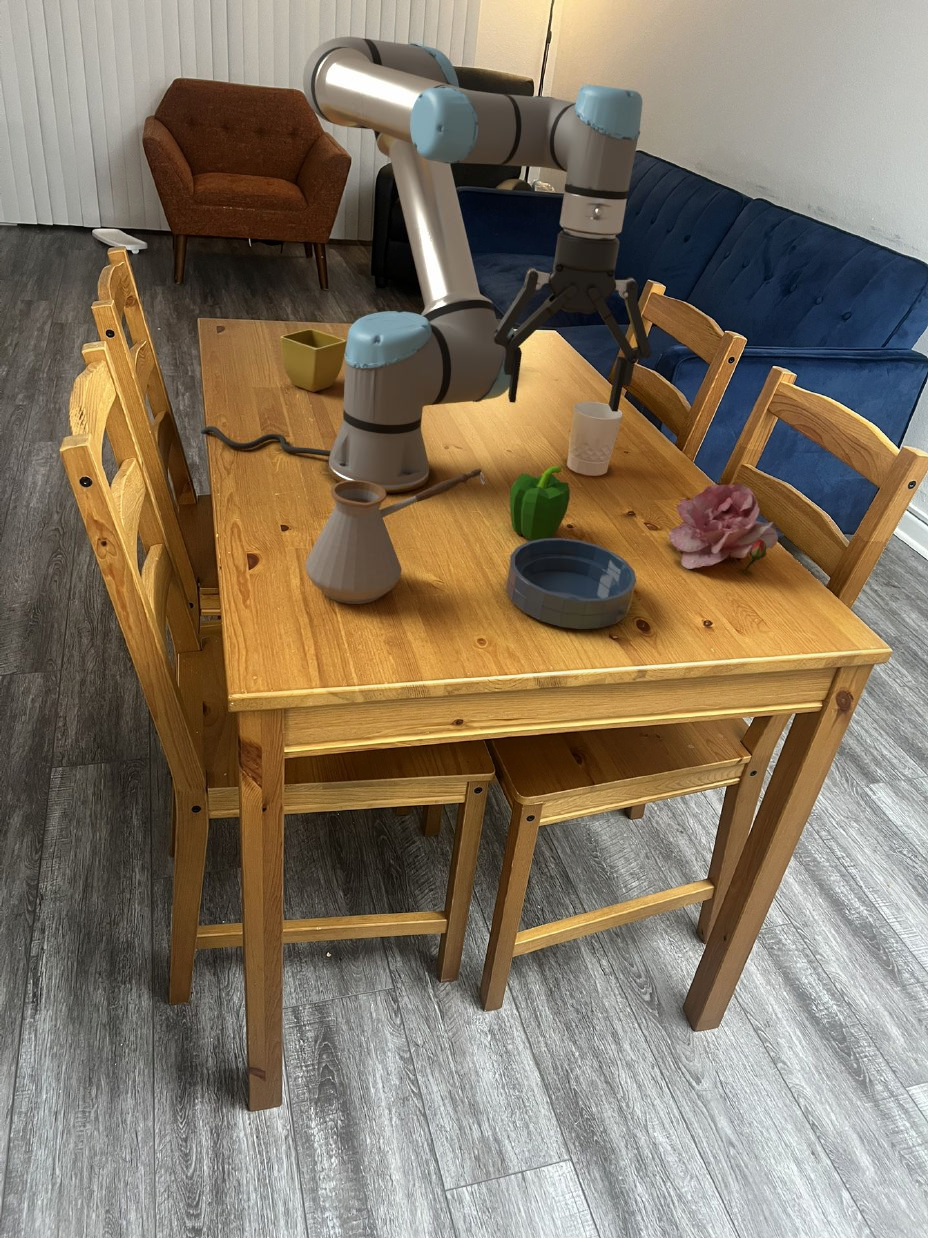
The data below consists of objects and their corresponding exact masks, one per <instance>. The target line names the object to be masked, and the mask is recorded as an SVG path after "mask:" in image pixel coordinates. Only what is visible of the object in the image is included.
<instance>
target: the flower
mask: <svg viewBox="0 0 928 1238" xmlns="http://www.w3.org/2000/svg"><path fill="white" fill-rule="evenodd" d="M676 511H677V512H678V515H679V517H680V519H681V521H682V522H681V524H679V525H678V526H677V527H675V528H673V529H671V530H670V531H669V533H668V537H669V542H670V543H671V544H672V546H674V547H676V549H677V550H676V551H678V552H682V556H681V559H680V563H681V566H682V567H684V568H685V569H687V570H689V569H692V570H693V569H696V568H697V569H700V568H702V567H703V566H704V567H710V566H713V565H715V564H719V563H720V562H722V561H723V560H725V559H726V558H728V557H729V556H730V557H732V558H736V559H744V558H745V559H746V557H747V556H748V555H749V556H751V560H750V561H749V562H748V564H747V566H746V567H745V570H744V573H746V572H747V571H748V569H750V567H751V566H752V565H753V564H754V563H755V562H756V561H759V560H761V559H762V558H764V557H766V556H767V550H768V549H769V550H770V549H774V547H775V546H776V545H777V543H778V541H779V535H778V532H777V530H775V529H774V528H773V527H772V526H774V524H775V521H770V522H764V523H763V522H761V521H759V520H757V519H758V518H759V515H760V508H759V502H758V500H757V497H756V495H755V493H754V492H753V491H752V489H750V488H749V487H748V486H746V485H745V484H742V483H739V484H721V485H719V484H712V485H708V486H706V487H705V489H704V490H703V491H702V492H700V493H697V495H695V496H693V497H692V499H691V500H688V499H684V498H682V499H681V502H680V503H679V504H677V505H676Z"/></svg>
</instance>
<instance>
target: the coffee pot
mask: <svg viewBox="0 0 928 1238" xmlns="http://www.w3.org/2000/svg"><path fill="white" fill-rule="evenodd" d="M477 477H478V478H479V480H480V482H481V484H482V485H483V486H485V485H487V480H486V478H485V476H484V474H483V471H482V469H481V468H477V469H472V470H471V471H470V472H468V473H465V472H464V473H463V472H462V473H460V475H459V476H457V477H454V478H449V479H446V480H443V481H442V482H439V483H437V484H435V485H432V486H431V487H429V488H427V489H425V490H422V491H421V492H419V493H417V494H414V496H410V497H408V498H406V499H404V500H401V501H398V502H396V503H394V504H391V505H388V506H386V507H384V508H381V505H382V503H384V501H385V500H386V498H387V493H386V492H385V490H384V489H383V488H382V487H380V486H379V485H377V484H374V483H371V482H367V481H360V480H348V481H342V482H337V483H334V484H333V485H332V486H331V488H330V492H329V493H330V497H332V499H333V500H334V504H335V505H334V508H333V509H332V511H331V513H330V515H329V517H328V519H327V520H326V522H325V524H324V526H323V528H322V530H321V532H320V534H319V536H318V538H317V539H316V541H315V543H314V545H313V547H312V549H311V550H310V552H309V554H308V556H307V558H306V562H305V570H306V574H307V576H308V579H309V580H310V581H311V583H312V584H313V586H314V587H316V589H318V590H319V591H320V592H322V593H323V594H324V595H325V596H326V597H328V598H329V599H331V600H334V601H336V602H339V603H341V604H351V605H362V604H368V603H371V602H374V601H376V600H378V599H380V598H381V597H382V596H384V595H385V594H387V593H389V592H390V591H391V590H392V589H393V588H394V587H395V586H396V585H397V583H398V582H399V580H400V578H401V576H402V566H401V562H400V559H399V557H398V555H397V553H396V550H395V547H394V544H393V542H392V539H391V537H390V534H389V531H388V528H387V525H386V523H385V520H384V518H386V517H387V516H389V515H392V514H394V513H396V512H398V511H400V510H403V509H405V508H407V507H409V506H411V505H414V504H416V503H419V502H422V501H424V500H427V499H430V498H432V497H435V496H439V495H441V494H443V493H446V492H449V491H450V490H452V489H454V488H456V487H457V486H458V485H460V484H467V483H468V481H469V480H470V479H474V478H475V479H476V478H477ZM482 478H483V479H482Z"/></svg>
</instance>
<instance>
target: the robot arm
mask: <svg viewBox="0 0 928 1238" xmlns="http://www.w3.org/2000/svg"><path fill="white" fill-rule="evenodd" d="M302 87H303V92H304V96H305V98H306V101H307V103H308V104H309V106H310V109H312V111H313V112H314V113H315V114H316V115H317V116H318V117H320V118H321V119H322V120H324V121H326V122H328V123H329V124H334V125H337V126H341V127H346V128H353V129H354V128H355V129H363V130H372V131H373V134H374V137H375V142H376V146H377V149H378V151H379V152H380V153H381V154H383V155H384V156H386V157H388V158H389V159H390V162H391V167H392V172H393V176H394V179H395V180H394V181H395V184H396V188H397V191H398V196H399V197H398V198H399V201H400V206H401V210H402V214H403V219H404V223H405V227H406V228H405V229H406V232H407V236H408V240H409V245H410V249H411V254H412V257H413V262H414V265H415V270H416V275H417V279H418V283H419V284H418V285H419V288H420V291H421V298H422V300H423V304H424V309H423V311H422V312H421V314H418V313H415V312H412V311H411V312H410V311H401V312H399V311H397V310H395V311H393V310H392V311H391V310H390V311H389V310H388V311H379V312H375V313H369V314H367V315H365V316H362V317H360V318H358V319H356V320H355V322H353V324H351V326H350V327H349V330H348V333H347V338H346V339H347V340H346V341H347V343H346V349H345V354H344V360H345V363H344V365H345V367H344V387H343V388H344V389H343V416H342V423H341V425H340V428H339V430H338V432H337V435H336V437H335V441H334V443H333V445H332V448H331V450H328V449H327V450H326V449H320V448H311V447H299V446H298V447H296V446H290V445H288V444H287V439H286V437H285V436H284V435H282V434H278V433H269V434H265V435H262V436H260V437H259V438H257V439H255V440H252V441H250V442H236V441H234V440H231V439H230V438H228V437H227V436H226V435H225V434H224V433H223V432H222V431H221V430H220V429H219V428H218V427H216V426H214V425H209V426H206V427H205V428H203V429H202V430H201V431H200V434H202V435H208V434H210V433H213V434H215V435H216V436H217V437H218V439H220V441H222V442H223V443H224V444H225V445H227V446H229V447H231V448H234V449H238V450H248V449H249V450H250V449H254V448H256V447H258V446H260V445H261V444H263V443H265V442H268V441H279V442H280V447H281V449H282V450H283V451H285V452H288V453H291V454H302V455H303V454H305V455H315V456H322V457H328V467H327V469H328V472H329V473H328V474H329V475H330V476H331V477H332V478H333V480H335V481H337V483H339V482H342V481H348V480H360V481H367V482H371V483H374V484H377V485H379V486H380V487H382V488H383V489H384V490H385V492H386V494H399V493H406V492H410V491H414V490H417V489H418V488H420V487H422V486H424V485H425V484H426V483H427V482H428V480H429V473H430V463H429V458H428V454H427V449H426V445H425V441H424V437H423V432H422V420H423V411H424V410H423V409H424V407H427V406H436V405H437V406H438V405H447V404H448V405H449V404H459V403H469V402H473V403H481V402H482V401H485V400H493V399H496V398H499V397H501V396H502V395H504V394H505V393H506V392H507V391H508V393H507V397H508V401H509V403H513V404H515V403H516V402H517V401H516V400H517V393H518V385H519V378H520V370H521V363H522V357H523V356H522V355H523V352H522V350H521V346H522V344H523V343H524V342H525V341H526V340H528V339H529V337H531V336H532V335H533V334H534V333H535V332H536V331H537V330H538V329H539V328H540V327H541V326H542V325H544V323H545V322H546V321H547V320H548V319H550V318H551V317H552V316H554V315H555V314H557V312H558V311H560V309H561V310H562V311H565V313H569V314H570V313H571V314H574V313H580V314H583V315H591V314H594V313H595V312H598V314H599V315H600V317H601V318H602V320H603V322H604V323H605V325H606V326H607V328H608V330H609V332H610V333H611V335H612V337H613V338H614V340H615V342H616V343H617V345H618V347H619V348H620V351H621V352H622V353H623V355H624V356H617V358H616V363H615V369H614V374H613V380H612V384H611V392H610V395H609V401H608V405H609V406H610V408H611V410H612V411H614V412H618V409H619V407H620V402H621V396H622V392H623V386H626V387H627V386H628V387H630V385H631V383H632V380H633V373H634V370H635V369H634V368H635V365H636V363H637V362H638V360H641V359H649V358H651V356H652V349H651V346H650V343H649V337H648V335H647V331H646V328H645V324H644V321H643V317H642V313H641V310H640V306H639V303H638V295H639V294H638V292H639V283H638V282H637V281H636V280H635V279H634V278H633V277H627V278H626V279H615V272H616V266H617V260H618V256H619V255H618V254H619V249H620V242H621V241H619V238H618V237H616V236H617V235H619V234H620V233H622V232H623V231H622V230H623V224H624V218H625V213H626V207H627V206H626V205H627V201H628V195H629V190H630V184H631V178H632V173H633V167H634V163H635V158H636V157H635V156H636V151H637V147H638V142H639V141H638V140H639V138H640V134H641V130H640V129H641V121H642V113H643V112H642V111H643V97H642V95H641V94H640V93H639V91H637V90H635V89H627V88H617V87H611V86H601V85H592V84H584V85H582V86H581V87H580V88H579V90H578V93H577V98H576V101H574V102H573V101H570V100H569V101H568V100H564V99H559V98H558V99H557V98H555V97H552V96H542V95H533V96H528V95H516V94H508V93H507V94H506V93H493V92H486V91H477V90H470V89H466V88H463V87H460V85H459V79H458V76H457V73H456V70H455V68H454V66H453V64H452V62H451V60H450V59H449V58H448V56H447V55H446V54H444V52H443V51H441V50H439V49H437V48H435V47H430V46H425V44H421V43H417V42H409V43H401V42H392V41H387V40H386V41H385V40H379V39H370V38H363V37H357V36H339V37H335V38H332V39H329V40H327V41H325V42H322V43H321V44H320V45H318V46H317V47H316V48H315V49H314V50H313V51H312V53H310V55H309V56H308V59H307V60H306V62H305V65H304V68H303V73H302ZM453 164H480V165H481V164H482V165H496V166H498V165H499V166H514V167H527V168H528V167H530V168H531V167H532V168H545V169H551V170H556V171H562V172H565V173H566V178H565V184H564V189H563V190H564V192H563V197H562V198H563V199H562V205H561V211H560V218H559V225H560V227H561V228H563V230H561V231H560V232H559V233H558V234H557V240H556V247H555V254H554V260H553V267H552V269H551V271H550V272H549V273H547V272H543V271H539V270H537V269H536V268H535V267H529V268H528V269H527V271H526V274H525V278H524V282H523V285H522V287H521V289H520V290H519V292H518V294H517V295H516V297H515V299H514V300H513V302H512V303H511V305H510V306H509V308H508V309H507V311H506V313H505V314H504V316H503V317H502V319H500V318H498V319H497V316H496V312H495V308H494V304H493V301H492V300H491V299H490V298H487V297H486V296H484V295H483V294H481V293H480V288H479V284H478V280H477V274H476V271H475V266H474V262H473V259H472V258H473V257H472V254H471V249H470V245H469V240H468V237H467V232H466V227H465V223H464V219H463V214H462V210H461V207H460V201H459V197H458V193H457V189H456V185H455V179H454V176H453V171H452V166H451V165H453ZM545 284H548V287H549V289H550V291H551V293H552V294H550V295H549V297H547V299H546V300H544V302H543V303H542V304H541V305H540V306H539V307H538V308H537V310H535V311H534V312H533V313H532V314H531V315H530V316H529V317H528V318H526V320H525V321H524V322H523V323H522V324H521V325H519V326H518V328H516V329H515V328H514V326H515V325H516V323H517V321H518V320H519V319H520V317H521V315H522V313H523V312H524V310H525V309H526V308H527V306H528V304H529V303H530V301H531V299H532V298H533V296H534V294H535V292H536V291H539V290H541V289H542V287H543V286H544V285H545ZM615 291H618V294H619V297H621V298H622V299H623V300H624V303H625V304H624V305H625V307H626V311H627V314H628V318H629V321H630V325H631V328H632V332H633V336H634V339H635V343H636V346H635V347H632V346H631V343H630V342H629V340H628V339H627V337H626V335H625V333H624V332H623V330H622V328H621V327H620V325H619V324H618V321H617V320H616V318H615V316H614V315H613V313H612V312H611V310H610V308H609V307H608V305H607V303H606V302H607V300H608V299H609V298H610V297H611V296H612V295H613V294H614V293H615Z"/></svg>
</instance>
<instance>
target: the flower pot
mask: <svg viewBox="0 0 928 1238" xmlns="http://www.w3.org/2000/svg"><path fill="white" fill-rule="evenodd" d="M279 339H280V348H281V359H282V365H283V369H284V371H285V374H286V376H287V377H288V379H289V381H290V382H291V384H292V385H293V386H296V387H298V388H301V389H304V390H306V391H309V392H313V393H315V392H318V391H321V390H324V389H327V388H330V387H331V386H332V385H333V384H334V383H335V381H336V380H337V378H338V376H339V375H340V372H341V370H342V367H343V364H344V360H345V350H346V345H347V340H346V339H344V338H341V337H339V336H336V335H332V334H330V333H326V332H323V331H320V330H317V329H313V328H308V329H303V330H299V331H295V332H292V333H287V334H283V335H281V336H279Z"/></svg>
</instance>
